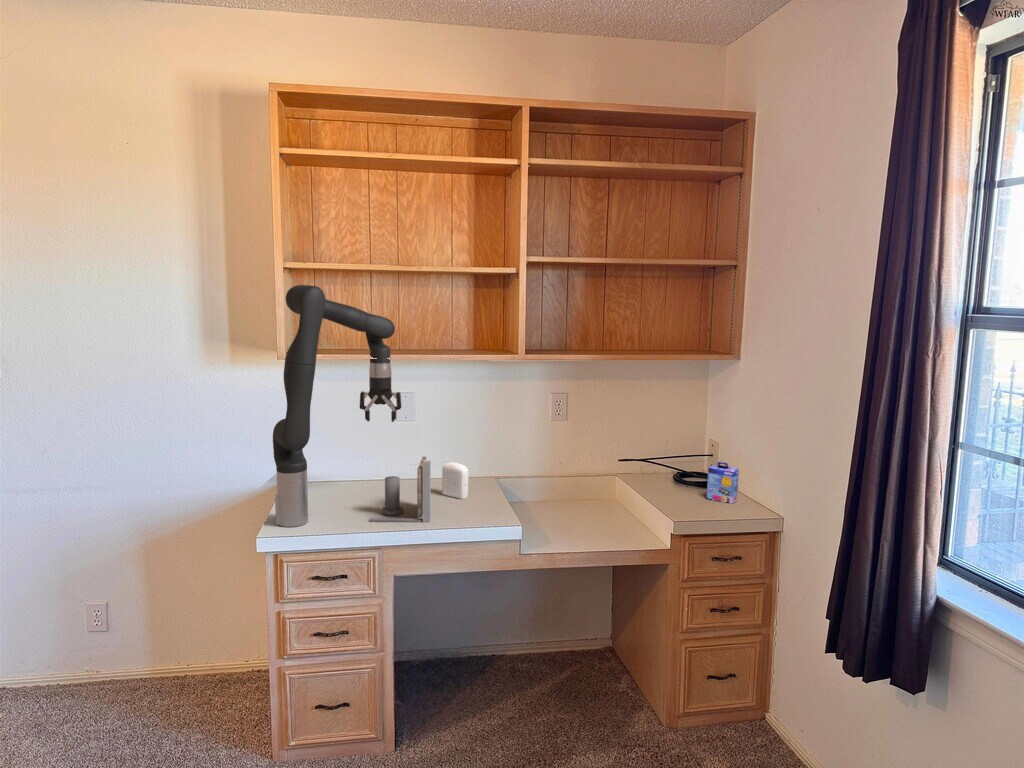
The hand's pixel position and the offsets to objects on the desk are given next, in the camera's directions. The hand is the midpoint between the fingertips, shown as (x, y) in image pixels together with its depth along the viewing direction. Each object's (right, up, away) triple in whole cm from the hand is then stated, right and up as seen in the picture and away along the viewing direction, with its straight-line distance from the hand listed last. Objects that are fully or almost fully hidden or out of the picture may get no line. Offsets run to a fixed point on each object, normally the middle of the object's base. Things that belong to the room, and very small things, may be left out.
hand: (380, 421), depth 246 cm
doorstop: (+6, -30, -12) cm, 33 cm away
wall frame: (+10, -31, -20) cm, 38 cm away
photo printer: (+25, -28, +9) cm, 39 cm away
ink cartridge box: (+122, -30, +9) cm, 126 cm away
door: (+17, -29, -12) cm, 35 cm away
